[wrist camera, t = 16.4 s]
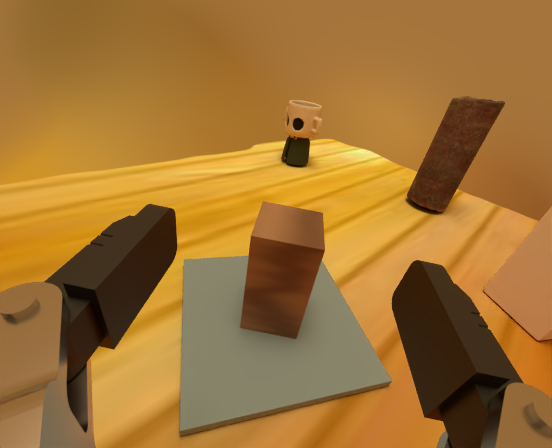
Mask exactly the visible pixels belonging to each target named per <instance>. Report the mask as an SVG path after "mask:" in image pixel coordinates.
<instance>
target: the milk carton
mask: <svg viewBox="0 0 552 448" xmlns="http://www.w3.org/2000/svg"><path fill="white" fill-rule="evenodd" d="M483 291H484V292H485V293H486V294H487V295H488V296H489V297H491V298H492V299H493V300H494V301H495V302H496V303H497V304H498V305H499V306H500V307H501V308H502V309H504V310H505V311H506V312H507V313H508V314H509V315H510V316H511V317H512V318H513V319H514V320H515V321H517V322H518V323H519V324H520V325H521V326H522V327H523V328H524V329H525V330H526V331H527V332H528V333H530V334H531V335H532V336H533V337H534V338H535V339H536V340H538V341H541V340H548V339H552V207H551V208H550V209H549V210H548V212H547V213H546V214H545V215H544V216H543V217H542V219H541V220H540V221H539V222H538V224H537V225H536V226H535V227H534V228H533V230H532V231H531V232H530V233H529V234H528V236H527V237H526V238H525V239H524V241H523V242H522V243H521V244H520V245H519V247H518V248H517V249H516V250H515V251H514V253H513V254H512V255H511V256H510V258H509V259H508V260H507V261H506V262H505V264H504V265H503V266H502V267H501V268H500V270H499V271H498V272H497V273H496V274H495V276H494V277H493V278H492V279H491V281H490V282H489V283H488V284H487V285H486V287H485V288H484V289H483Z"/></svg>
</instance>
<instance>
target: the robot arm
mask: <svg viewBox="0 0 552 448" xmlns="http://www.w3.org/2000/svg"><path fill="white" fill-rule="evenodd" d="M176 251H177V234H176V217H175V211H174V210H173V209H172V208H167V207H162V206H157V205H152V204H148V205H146V206H145V207H144V208H143V209H142V210H141V211H140V212H139V213H138V214H137V215H135V216H130V215H129V216H127V217H125V218H123V219H121V220H118V221H116V222H114V223H112V224H111V225H110V226H109V227H108V228H107V229H105V230H104V231H103V232H102V233H101V235H100V236H99V235H98V236H97V237H96V238H95V239H94V240H93V241H91V244H90V245H87V246H86V247H84V248H83V249H82V250H81V251H80V252H79V253H77V254H76V255H75V256H74V257H73V258H72V259H70V260H69V261H68V262H67V263H66V264H65V265H63V266H62V267H61V268H60V269H59V270H58V271H56V272H55V273H54V274H53V275H52V276H51V277H49V278H48V279H47V280H46V281H45V282H32V283H26V284H22V285H18V286H15V287H12V288H9V289H7V290H5V291H2V292H1V293H0V448H96V447H95V442H94V434H93V410H92V380H91V360H90V357H91V356H92V354H93V353H94V352H95V350H96V349H97V347H98V346H101V347H105V348H110V349H115V347H116V346H117V344H118V343H119V341H120V340H121V338H122V337H123V335H124V334H125V332H126V331H127V329H128V328H129V326H130V325H131V323H132V322H133V320H134V319H135V317H136V316H137V314H138V313H139V311H140V310H141V309H142V307H143V306H144V304H145V303H146V301H147V300H148V298H149V297H150V295H151V294H152V292H153V291H154V289H155V288H156V286H157V285H158V283H159V282H160V280H161V279H162V277H163V276H164V274H165V273H166V271H167V270H168V268H169V267H170V265H171V264H172V262H173V260H174V258H175V255H176ZM392 310H393V313H394V317H395V320H396V323H397V327H398V330H399V333H400V337H401V340H402V344H403V347H404V350H405V354H406V357H407V360H408V364H409V367H410V370H411V374H412V377H413V380H414V384H415V387H416V391H417V394H418V397H419V401H420V404H421V407H422V411H423V414H424V417H426V418H430V419H435V420H440V421H443V422H444V425H445V428H446V431H445V432H444V433H443V434H442V435H441V437H440V439H439V442H438V445H437V448H552V398H550V397H549V396H548V395H546V394H545V393H543V392H542V391H540V390H538V389H536V388H534V387H532V386H530V385H527V384H524V383H523V382H522V380H521V378H520V377H519V375H518V374H517V372H516V370H515V369H514V367H513V366H512V364H511V362H510V361H509V359H508V358H507V356H506V354H505V353H504V351H503V350H502V348H501V346H500V345H499V343H498V342H497V340H496V338H495V337H494V335H493V334H492V332H491V330H489V329H488V326H487V324H486V322H485V321H484V319H483V318H482V316H480V315H479V314H480V313H479V311H478V310H477V308H476V306H475V305H474V303H473V302H472V300H471V298H470V297H469V296H468V295H467V294H466V293H465V292H463V291H462V290H461V289H460V288H459V287H458V286H457V285H456V284H454V283H453V281H452V280H451V278H450V276H449V275H448V273H447V271H446V270H445V268H444V267H443V266H442V265H438V264H433V263H429V262H424V261H419V260H416V261H414V262H413V263H412V264H411V265H410V267H409V268H408V270H407V272H406V273H405V275H404V276H403V278H402V280H401V281H400V283H399V285H398V286H397V288H396V290H395V291H394V294H393V297H392Z"/></svg>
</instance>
